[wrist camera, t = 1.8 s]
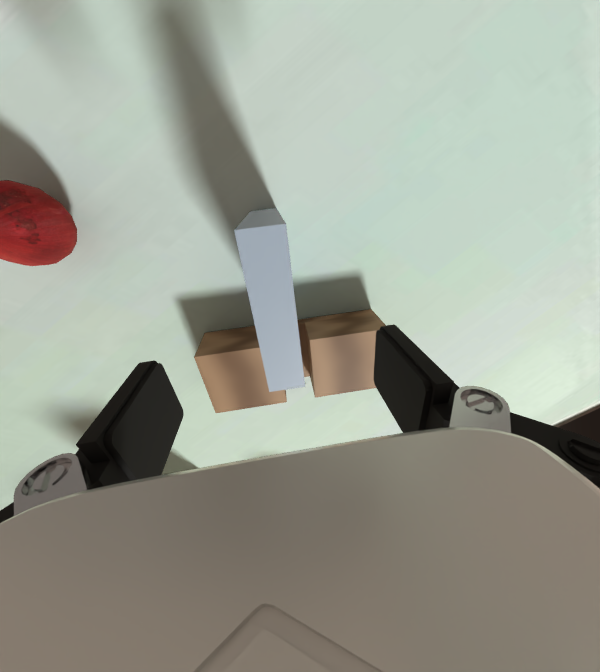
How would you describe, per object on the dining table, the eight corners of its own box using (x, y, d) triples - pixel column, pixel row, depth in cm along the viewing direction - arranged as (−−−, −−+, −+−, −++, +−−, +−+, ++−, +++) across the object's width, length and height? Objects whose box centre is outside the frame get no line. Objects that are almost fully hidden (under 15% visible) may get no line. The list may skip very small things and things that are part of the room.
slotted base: (371, 309, 30) (388, 328, 26) (368, 362, 34) (383, 386, 30) (204, 332, 29) (194, 357, 25) (222, 384, 33) (215, 413, 29)
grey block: (276, 207, 24) (285, 223, 12) (289, 305, 29) (305, 386, 17) (250, 211, 23) (234, 230, 11) (268, 307, 28) (269, 392, 16)
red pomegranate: (31, 165, 20) (-93, 151, 13) (107, 216, 22) (36, 226, 15) (11, 226, 22) (-107, 241, 15) (83, 267, 24) (10, 296, 17)
